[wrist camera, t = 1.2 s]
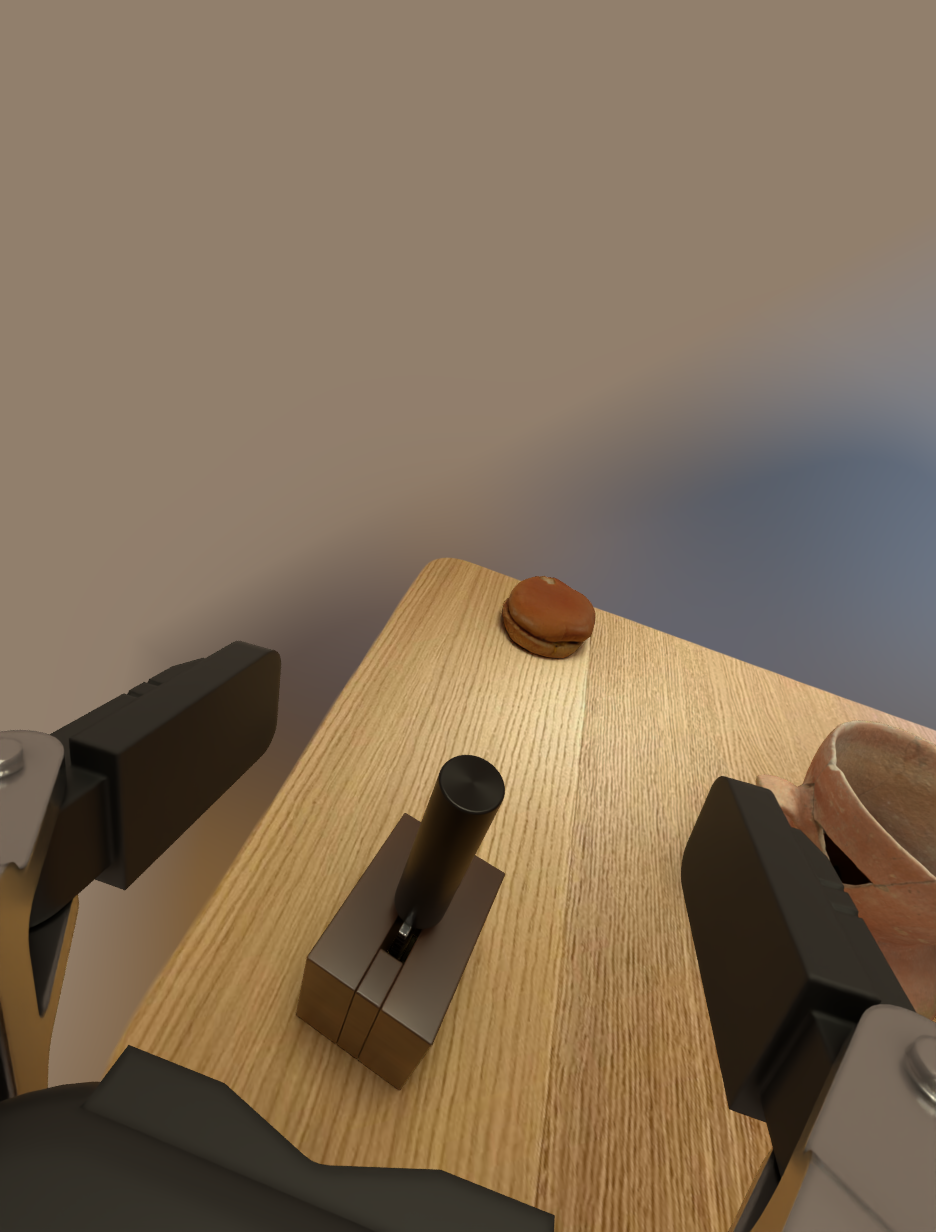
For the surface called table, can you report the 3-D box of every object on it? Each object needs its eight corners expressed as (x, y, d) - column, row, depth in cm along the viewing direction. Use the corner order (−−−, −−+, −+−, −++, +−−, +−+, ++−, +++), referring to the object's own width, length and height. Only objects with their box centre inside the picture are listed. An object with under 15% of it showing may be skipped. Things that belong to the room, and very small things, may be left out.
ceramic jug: (677, 985, 32) (834, 866, 23) (667, 792, 43) (769, 667, 35) (980, 1114, 30) (1260, 1037, 22) (885, 879, 42) (1045, 771, 34)
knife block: (295, 1015, 26) (306, 957, 22) (383, 876, 32) (405, 811, 28) (399, 1091, 25) (431, 1046, 21) (470, 932, 31) (505, 873, 27)
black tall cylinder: (354, 986, 27) (421, 797, 18) (387, 929, 30) (462, 736, 20) (393, 1014, 27) (485, 836, 17) (424, 953, 30) (519, 768, 20)
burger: (527, 666, 51) (543, 629, 49) (483, 607, 57) (496, 571, 55) (603, 654, 56) (621, 620, 53) (555, 600, 62) (570, 567, 60)
